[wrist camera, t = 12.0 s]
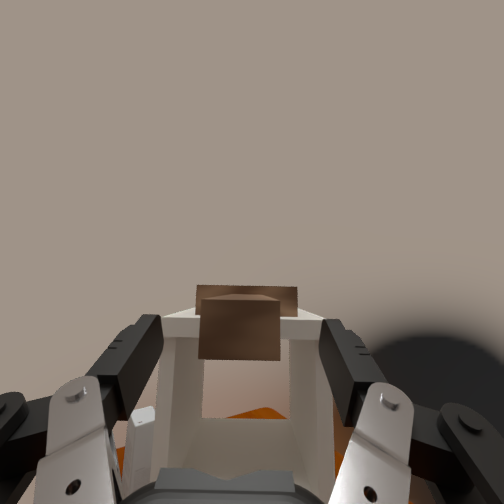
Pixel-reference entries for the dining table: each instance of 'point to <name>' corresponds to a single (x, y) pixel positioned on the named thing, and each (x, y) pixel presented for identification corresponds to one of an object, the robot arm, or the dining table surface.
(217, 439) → the shelf stand
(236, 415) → the dining table surface
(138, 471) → the skincare box
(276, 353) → the walnut mallet
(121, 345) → the robot arm
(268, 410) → the dining table surface
